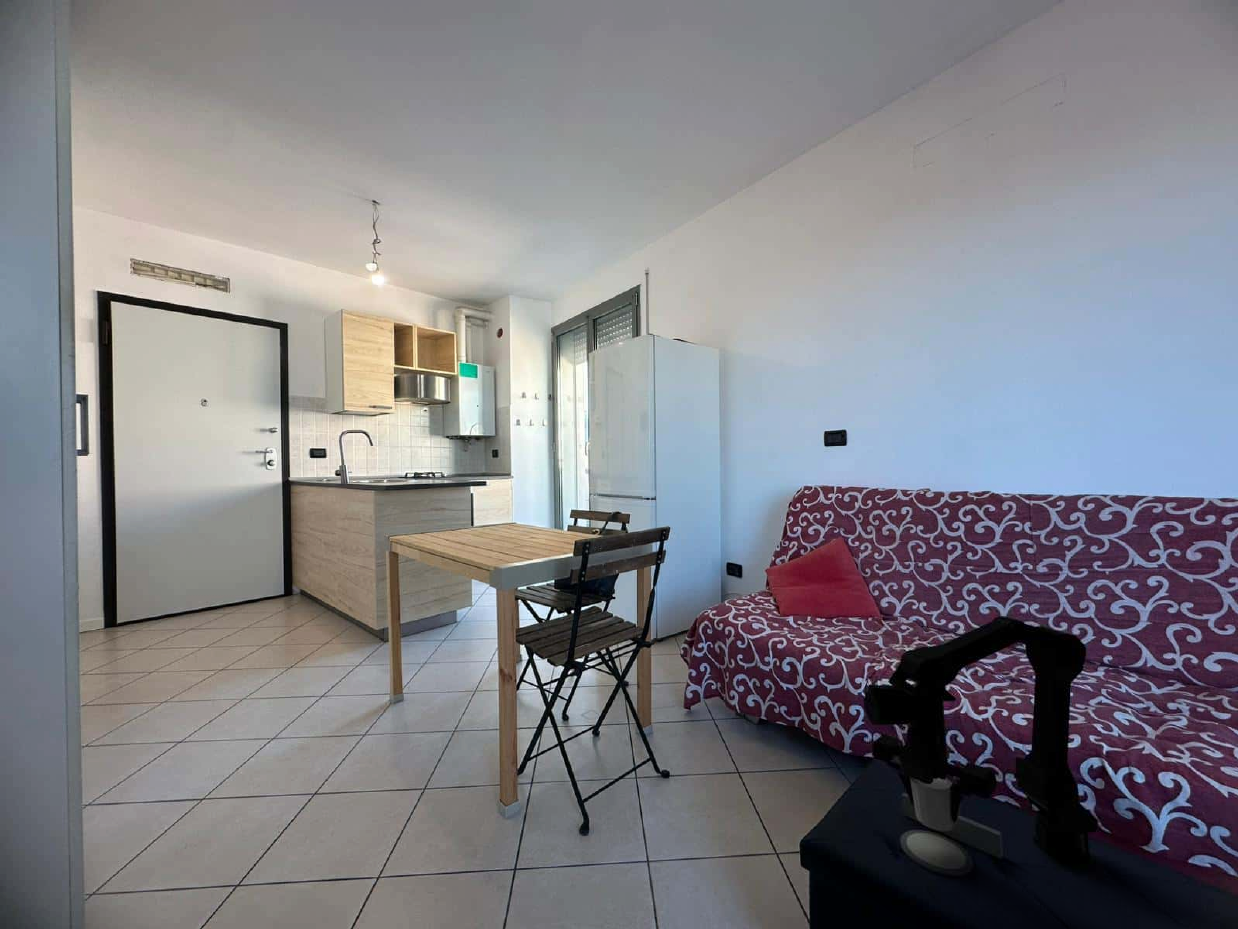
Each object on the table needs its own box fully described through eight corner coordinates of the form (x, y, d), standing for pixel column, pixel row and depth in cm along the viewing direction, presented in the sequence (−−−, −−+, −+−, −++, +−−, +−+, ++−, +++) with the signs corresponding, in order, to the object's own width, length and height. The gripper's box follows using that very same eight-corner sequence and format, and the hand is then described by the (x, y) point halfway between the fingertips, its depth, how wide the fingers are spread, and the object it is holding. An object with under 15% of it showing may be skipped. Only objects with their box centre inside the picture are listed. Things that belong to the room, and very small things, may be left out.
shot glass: (913, 826, 85) (911, 785, 86) (910, 805, 91) (908, 767, 92) (960, 838, 82) (956, 795, 83) (953, 815, 88) (950, 775, 89)
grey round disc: (949, 833, 91) (948, 831, 91) (988, 878, 80) (988, 874, 80) (889, 831, 92) (889, 828, 92) (920, 874, 81) (920, 871, 81)
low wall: (902, 815, 96) (901, 795, 97) (905, 813, 97) (903, 792, 98) (1001, 859, 84) (999, 835, 85) (1003, 856, 85) (1001, 832, 85)
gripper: (856, 720, 90) (862, 806, 89) (975, 758, 76) (984, 862, 74) (880, 703, 97) (885, 783, 96) (993, 736, 83) (1001, 830, 82)
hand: (933, 812), depth 87 cm, fingers closed on shot glass, 6 cm apart
